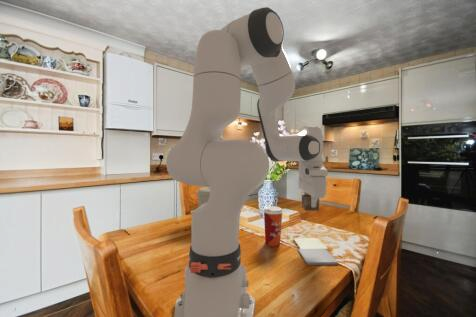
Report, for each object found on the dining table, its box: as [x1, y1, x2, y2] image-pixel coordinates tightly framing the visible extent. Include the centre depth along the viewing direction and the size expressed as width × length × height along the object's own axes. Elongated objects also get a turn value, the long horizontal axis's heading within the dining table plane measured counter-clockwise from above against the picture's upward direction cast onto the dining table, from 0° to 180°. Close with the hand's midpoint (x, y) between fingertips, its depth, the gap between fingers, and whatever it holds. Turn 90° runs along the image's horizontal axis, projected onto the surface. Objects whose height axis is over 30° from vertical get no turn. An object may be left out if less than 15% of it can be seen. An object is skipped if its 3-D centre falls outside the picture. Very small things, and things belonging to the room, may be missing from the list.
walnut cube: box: [301, 194, 320, 212], centre depth 87 cm, size 5×5×5 cm
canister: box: [195, 186, 210, 207], centre depth 113 cm, size 18×18×21 cm
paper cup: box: [263, 205, 284, 247], centre depth 89 cm, size 8×8×14 cm
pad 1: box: [293, 237, 329, 251], centre depth 87 cm, size 10×10×1 cm
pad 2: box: [297, 248, 339, 266], centre depth 77 cm, size 10×10×1 cm
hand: (310, 204), depth 87 cm, fingers closed on walnut cube, 5 cm apart
